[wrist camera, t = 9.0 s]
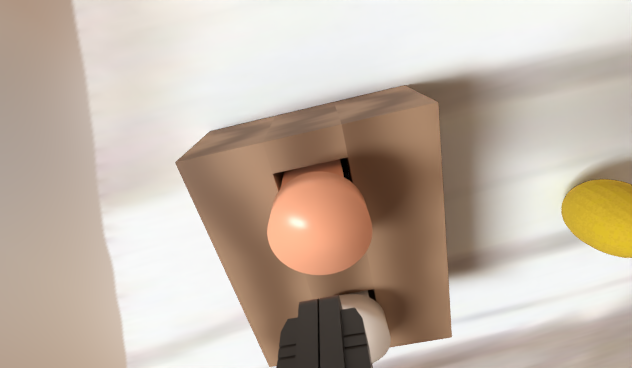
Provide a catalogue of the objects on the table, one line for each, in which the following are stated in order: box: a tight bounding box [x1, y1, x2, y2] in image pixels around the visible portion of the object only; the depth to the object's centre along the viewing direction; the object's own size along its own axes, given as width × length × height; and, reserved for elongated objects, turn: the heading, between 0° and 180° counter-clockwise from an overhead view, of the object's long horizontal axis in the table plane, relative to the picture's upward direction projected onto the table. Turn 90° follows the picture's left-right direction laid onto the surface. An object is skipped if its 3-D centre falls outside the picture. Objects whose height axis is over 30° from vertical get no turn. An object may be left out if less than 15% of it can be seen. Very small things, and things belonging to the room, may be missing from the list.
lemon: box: [561, 179, 632, 258], centre depth 24 cm, size 6×6×8 cm
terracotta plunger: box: [267, 159, 372, 275], centre depth 20 cm, size 6×6×8 cm
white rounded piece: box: [339, 290, 391, 363], centre depth 26 cm, size 6×6×8 cm
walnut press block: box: [175, 85, 452, 367], centre depth 25 cm, size 16×20×7 cm
